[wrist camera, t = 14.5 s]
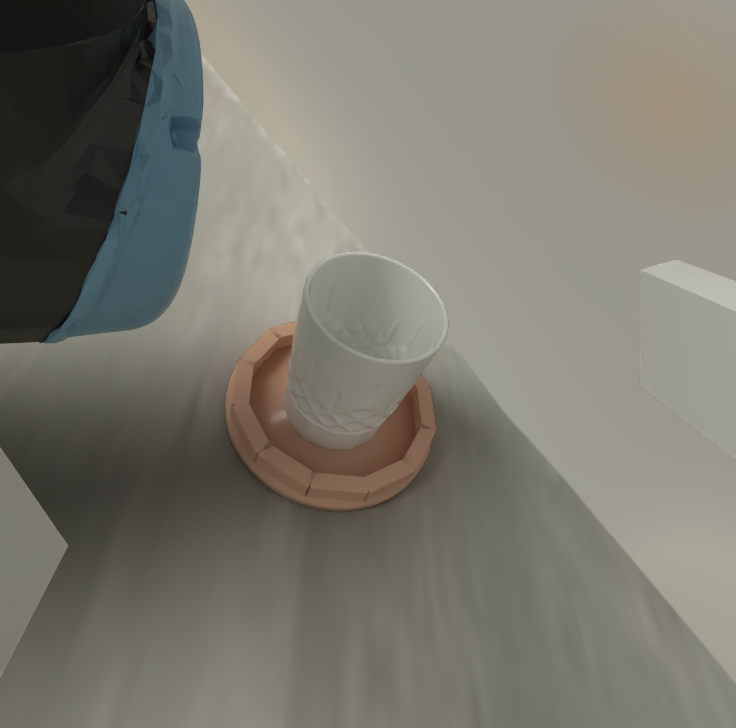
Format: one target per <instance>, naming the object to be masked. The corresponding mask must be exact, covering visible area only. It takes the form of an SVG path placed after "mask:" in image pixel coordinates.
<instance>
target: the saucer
mask: <svg viewBox="0 0 736 728" xmlns="http://www.w3.org/2000/svg"><path fill="white" fill-rule="evenodd" d="M296 323H297V321H295V322H291V323H287V324H283V325H279V326H275V327H271V329H270V328H269V329H268V330H267V331H266V332H265V333H264V334H263V335H262V336H261V337H260V338H259V339H258V340H257V341H256V342H255V343H254V344H253V345H252V346H251V347H250V348H249V349H248V350H247V351H246V352H245V353H244V354H243V355H242V356H241V357H240V358H239V360H238V364H237V366H236V367H235V369H234V371H233V373H232V376H231V378H230V380H229V385H228V389H227V394H226V403H225V417H226V425H227V429H228V433H229V437H230V439H231V442H232V444H233V447H234V449H235V450H236V452H237V454H238V455H239V457H240V459H241V461H242V462H243V463H244V464H245V466H246V467H247V468H248V469H249V471H250V472H251V473H252V474H253V475H254V476H255V477H256V478H257V479H258V480H259V481H260V482H262V483H263V484H264V485H266V486H267V487H268V488H270V489H271V490H272V491H274V492H275V493H277V494H279V495H281V496H282V497H284V498H286V499H288V500H290V501H293V502H295V503H298V504H300V505H303V506H307V507H310V508H314V509H319V510H326V511H355V510H362V509H366V508H369V507H373V506H376V505H378V504H381V503H383V502H385V501H387V500H389V499H391V498H392V497H394V496H396V495H397V494H398V493H400V492H401V491H402V490H403V489H404V488H406V487H407V486H408V484H409V483H410V482H411V481H412V480H413V479H414V478H415V476H416V475H417V474H418V473H419V471H420V469H421V468H422V466H423V465H424V463H425V461H426V459H427V456H428V454H429V451H430V447H431V443H432V439H433V437H434V435H435V433H436V424H435V416H434V409H433V402H432V395H431V388H429V387H430V386H429V385H428V383H427V382H426V380H425V379H424V378H423V376H422V375H420V377H419V378H418V379H417V381H416V382H415V384H414V386H413V387H412V389H411V390H410V391H409V392H408V394H407V395H406V396H405V397H404V399H403V400H402V402H401V403H400V404H399V405H398V407H397V408H396V409H395V410H394V412H393V413H392V415H391V416H389V417H388V418H387V419H386V420H385V421H384V422H383V424H382V425H381V426H380V428H379V429H378V431H377V432H376V433H375V435H374V436H373V438H372V439H371V440H370V441H369V442H367V443H364V444H362V445H360V446H358V447H356V448H354V449H351V450H328V449H325V448H323V447H321V446H318V445H316V444H314V443H311V442H309V441H307V440H305V439H304V438H303V437H302V436H301V435H300V434H299V433H298V432H297V431H296V429H295V428H294V427H293V426H292V425H291V424H290V423H289V420H288V417H287V414H286V411H285V408H284V405H283V399H284V395H285V390H286V386H287V379H288V365H289V358H290V352H291V349H292V341H293V336H294V332H295V328H296Z"/></svg>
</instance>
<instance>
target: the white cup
mask: <svg viewBox="0 0 736 728" xmlns="http://www.w3.org/2000/svg"><path fill="white" fill-rule="evenodd" d="M448 328H449V320H448V314H447V311H446V308H445V305H444V303H443V301H442V299H441V298H440V296H439V294H438V293H437V291H436V290H435V289H434V288H433V286H432V285H431V284H429V282H428V281H427V280H425V279H424V278H423V277H422V276H421V275H420V274H418V273H417V272H416V271H414V270H413V269H411V268H409V267H408V266H406V265H404V264H402V263H400V262H398V261H396V260H393V259H391V258H388V257H385V256H382V255H377V254H373V253H366V252H345V253H339V254H335V255H332V256H330V257H327V258H325V259H323V260H322V261H320V262H319V263H317V264H316V265H315V266H314V267H313V268H312V269H311V271H310V272H309V274H308V276H307V278H306V281H305V284H304V289H303V294H302V299H301V303H300V308H299V313H298V318H297V323H296V328H295V332H294V336H293V341H292V349H291V352H290V358H289V365H288V379H287V386H286V390H285V395H284V399H283V405H284V408H285V411H286V414H287V417H288V420H289V423H290V424H291V425H292V426H293V427H294V428H295V429H296V431H297V432H298V433H299V434H300V435H301V436H302V437H303V438H304V439H305V440H307V441H309V442H311V443H314V444H316V445H318V446H321V447H323V448H325V449H328V450H351V449H354V448H356V447H358V446H360V445H362V444H364V443H367V442H369V441H370V440H371V439H372V438H373V436H374V435H375V433H376V432H377V431H378V429H379V428H380V426H381V425H382V424H383V422H384V421H385V420H386V419H387V418H388V417H389V416H391V415H392V413H393V412H394V410H395V409H396V408H397V407H398V405H399V404H400V403H401V402H402V400H403V399H404V397H405V396H406V395H407V394H408V392H409V391H410V390H411V389H412V387H413V386H414V384H415V382H416V381H417V379H418V378H419V377H420V375H421V374H422V372H423V371H424V369H425V368H426V367H427V365H428V364H429V363H430V361H431V360H432V358H433V357H434V356H435V354H436V353H437V351H438V350H439V349H440V347H441V346H442V344H443V343H444V341H445V339H446V337H447V333H448Z"/></svg>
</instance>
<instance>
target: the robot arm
mask: <svg viewBox="0 0 736 728" xmlns="http://www.w3.org/2000/svg"><path fill="white" fill-rule="evenodd" d="M202 113H203V70H202V60H201V51H200V43H199V38H198V33H197V28H196V24H195V21H194V18H193V15H192V13H191V11H190V9H189V7H188V6H187V4H186V2H185V1H184V0H0V344H3V343H25V342H39V343H56V342H60V341H63V340H65V339H66V338H68V337H73V336H82V335H91V334H99V333H108V332H117V331H126V330H133V329H137V328H140V327H143V326H146V325H148V324H150V323H152V322H153V321H155V320H156V319H157V318H159V317H160V316H161V315H162V314H163V313H164V312H165V311H166V309H167V308H168V307H169V306H170V304H171V303H172V301H173V299H174V298H175V296H176V294H177V292H178V290H179V287H180V284H181V282H182V279H183V276H184V273H185V269H186V266H187V261H188V257H189V253H190V248H191V243H192V238H193V232H194V225H195V219H196V212H197V205H198V197H199V187H200V174H201V158H200V154H199V150H198V146H197V142H198V139H199V137H200V130H201V122H202ZM639 385H640V387H642V388H643V389H644V390H646V391H647V392H648V393H649V394H651V395H652V396H653V397H655V398H656V399H657V400H658V401H660V402H661V403H662V404H664V405H665V406H666V407H668V408H669V409H670V410H671V411H673V412H674V413H675V414H677V415H678V416H679V417H681V418H682V419H683V420H684V421H686V422H687V423H688V424H690V425H691V426H692V427H693V428H695V429H696V430H698V431H699V432H700V433H701V434H703V435H704V436H706V438H708V439H709V440H710V441H712V442H713V443H714V444H716V445H717V446H718V447H720V448H721V449H722V450H723V451H725V452H726V453H727V454H728V455H730V456H731V457H732V458H734V459H735V460H736V282H735V281H733V280H730V279H728V278H725V277H722V276H719V275H717V274H714V273H711V272H709V271H706V270H703V269H701V268H698V267H695V266H693V265H690V264H687V263H684V262H682V261H679V260H673V261H670V262H666V263H662V264H659V265H655V266H651V267H648V268H644V269H641V270H640V384H639ZM67 547H68V544H67V543H66V542H65V540H64V539H63V537H62V536H61V534H60V533H59V531H58V530H57V529H56V527H55V526H54V524H53V523H52V521H51V520H50V518H49V517H48V516H47V514H46V513H45V511H44V510H43V508H42V507H41V505H40V504H39V503H38V501H37V500H36V498H35V497H34V495H33V494H32V492H31V491H30V489H29V488H28V487H27V485H26V484H25V482H24V481H23V479H22V478H21V476H20V475H19V474H18V472H17V471H16V469H15V468H14V466H13V465H12V463H11V462H10V461H9V459H8V458H7V456H6V455H5V453H4V452H3V450H2V449H1V447H0V679H1V677H2V675H3V673H4V671H5V669H6V667H7V665H8V663H9V661H10V659H11V657H12V655H13V653H14V651H15V649H16V647H17V645H18V643H19V641H20V639H21V638H22V636H23V634H24V632H25V630H26V628H27V626H28V624H29V622H30V620H31V618H32V616H33V614H34V612H35V610H36V608H37V606H38V604H39V602H40V600H41V598H42V596H43V594H44V592H45V591H46V589H47V587H48V585H49V583H50V581H51V579H52V577H53V575H54V573H55V571H56V569H57V567H58V565H59V563H60V561H61V559H62V557H63V555H64V553H65V551H66V549H67Z"/></svg>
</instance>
